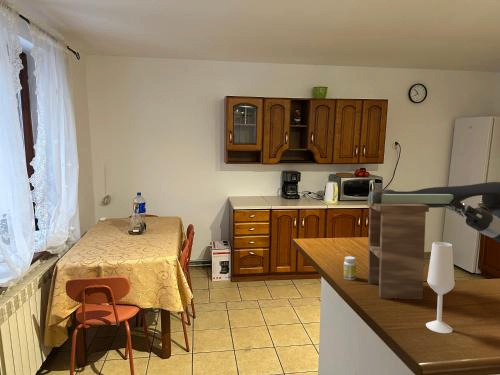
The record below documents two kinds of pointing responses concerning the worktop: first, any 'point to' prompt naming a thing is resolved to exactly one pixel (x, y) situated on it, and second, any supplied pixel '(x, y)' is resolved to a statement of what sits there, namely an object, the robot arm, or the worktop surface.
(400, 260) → the walnut shelf
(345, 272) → the supplement bottle
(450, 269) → the champagne flute
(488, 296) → the worktop surface
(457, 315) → the worktop surface
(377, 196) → the capped bar
